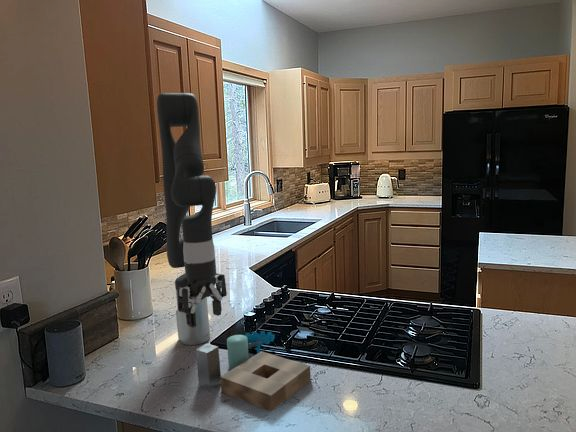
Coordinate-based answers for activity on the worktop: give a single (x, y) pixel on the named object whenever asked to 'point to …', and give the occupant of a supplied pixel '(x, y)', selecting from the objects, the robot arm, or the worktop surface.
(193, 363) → the worktop surface
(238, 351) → the round peg
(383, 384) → the worktop surface
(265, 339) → the gear
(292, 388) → the socket block
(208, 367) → the square peg
